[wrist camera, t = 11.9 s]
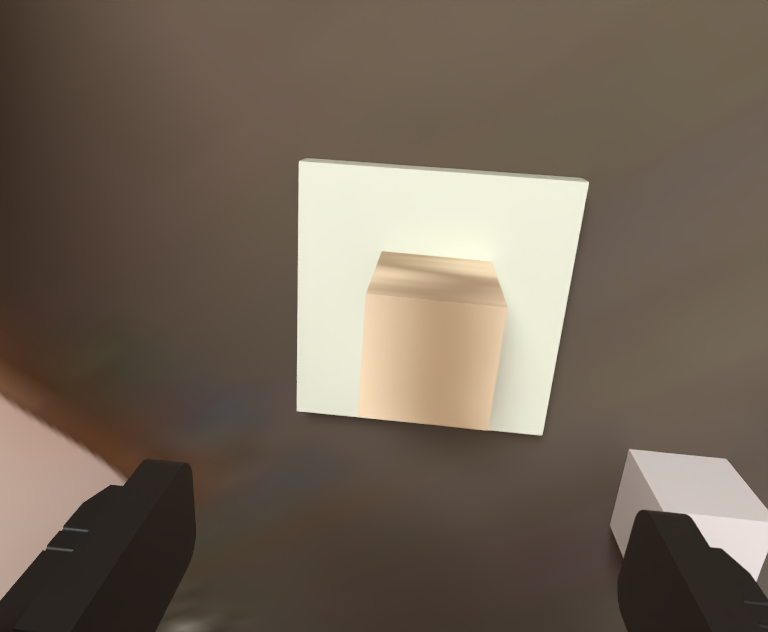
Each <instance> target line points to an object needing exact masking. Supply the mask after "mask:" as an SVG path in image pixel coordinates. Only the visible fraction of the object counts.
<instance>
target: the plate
mask: <svg viewBox="0 0 768 632" xmlns="http://www.w3.org/2000/svg"><path fill="white" fill-rule="evenodd" d="M588 185H589V182H588V181H586V180H584V179H582V178H575V177H561V176H547V175H533V174H519V173H505V172H491V171H478V170H464V169H450V168H436V167H422V166H408V165H394V164H380V163H367V162H353V161H339V160H325V159H311V158H305V159H303V160H301V161H299V213H298V331H297V411H301V412H311V413H321V414H331V415H341V416H351V417H359V416H358V405H359V390H360V375H361V360H362V345H363V329H364V314H365V299H366V292H367V289H368V287H369V284H370V281H371V279H372V276H373V273H374V271H375V268H376V265H377V263H378V260H379V257H380V255H381V252H382V251H386V252H396V253H407V254H418V255H428V256H439V257H450V258H460V259H471V260H482V261H492V264H493V266H494V269H495V272H496V275H497V278H498V281H499V284H500V287H501V289H502V292H503V295H504V298H505V301H506V304H507V307H508V309H507V315H506V321H505V327H504V334H503V340H502V346H501V353H500V359H499V365H498V371H497V378H496V384H495V390H494V396H493V403H492V409H491V415H490V421H489V428H488V430H492V431H502V432H512V433H522V434H532V435H542V434H543V429H544V424H545V418H546V413H547V407H548V402H549V397H550V391H551V386H552V380H553V375H554V369H555V364H556V359H557V353H558V348H559V342H560V337H561V331H562V326H563V321H564V315H565V310H566V304H567V299H568V293H569V288H570V283H571V277H572V272H573V266H574V261H575V255H576V250H577V245H578V239H579V234H580V228H581V223H582V218H583V212H584V207H585V201H586V196H587V190H588ZM361 418H368V417H361ZM371 419H377V418H371ZM381 420H386V419H381ZM391 421H395V420H391ZM401 422H404V421H401ZM411 423H414V422H411ZM422 424H423V423H422Z"/></svg>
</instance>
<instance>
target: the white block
mask: <svg viewBox="0 0 768 632" xmlns="http://www.w3.org/2000/svg"><path fill="white" fill-rule="evenodd" d="M640 510H653V511H663V512H673V513H683V514H687V515H689V516H690V517H691V518H692V519H693V521H694V522H695V524H696V525H697V527H698V528H699V530H700V532H701V533H702V535H703V536H704V538H705V540H706V541H707V543H708V544H709V546H710V547H714V548H722V549H723V550H724V551H725V552H726V553H727V554H729V555H730V556H731V557H732V558H733V559H734V560H735V561H737V562H738V563H739V564H740V565H741V566H742V567H743V568H745V569H746V570H747V571H748V572H749V573H750V574H751V575H752V577H753V578H754V580H755V581H757V578H758V575H759V573H760V570H761V568H762V565H763V562H764V560H765V557H766V554H767V552H768V510H767V509H766V507H765V506H764V505H763V504H762V502H761V501H760V500H759V499H758V497H757V496H756V495H755V494H754V493H753V491H752V490H751V489H750V488H749V486H748V485H747V484H746V483H745V481H744V480H743V479H742V478H741V477H740V475H739V474H738V473H737V472H736V470H735V469H734V468H733V467H732V465H731V464H730V463H729V462H728V461H727V459H720V458H711V457H701V456H691V455H681V454H671V453H661V452H652V451H642V450H632V449H629V452H628V456H627V460H626V463H625V467H624V471H623V475H622V479H621V483H620V487H619V491H618V495H617V499H616V503H615V507H614V511H613V515H612V519H611V523H610V527H611V529H612V531H613V534H614V536H615V539H616V541H617V544H618V546H619V549H620V551H621V553H622V556H623V558H624V555H625V551H626V548H627V544H628V541H629V537H630V533H631V530H632V526H633V523H634V519H635V517H636V515H637V513H638V512H639V511H640Z"/></svg>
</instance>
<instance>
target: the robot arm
mask: <svg viewBox="0 0 768 632" xmlns="http://www.w3.org/2000/svg"><path fill="white" fill-rule="evenodd" d="M195 538H196V523H195V508H194V494H193V479H192V470H191V467H190V465H189V464H188V463H182V462H172V461H162V460H152V459H146V460H144V461H143V462H142V463H141V464H140V465H139V466H138V468H137V469H136V470H135V472H134V473H133V474H132V475H131V477H130V478H129V479H128V481H127V482H126V483H125V484H124V486H116V485H110V486H108V487H107V488H105V489H104V490H102V491H101V492H99V493H97V494H96V495H94V496H93V497H91V498H90V499H88V500H87V501H85V502H84V503H83V504H82V505H81V506H80V507H79V508H78V510H77V511H76V512H75V513H74V514H73V515H72V516H71V518H70V519H69V520H68V521H67V522H66V524H65V525H64V526H63V530H62V531H59V532H58V533H57V535H55V537H54V538H53V539H52V540H51V541H50V543H49V544H48V545H47V549H46V550H45V551H44V550H43V551H42V552H41V553H40V554H39V556H38V557H37V558H36V559H35V560H34V561H33V563H32V564H31V565H30V566H29V567H28V569H27V570H26V571H25V572H24V573H23V574H22V576H21V577H20V578H19V579H18V580H17V582H16V583H15V584H14V585H13V586H12V587H11V589H10V590H9V591H8V592H7V593H6V595H5V596H4V597H3V598H2V599H1V600H0V632H155V631H156V629H157V627H158V625H159V623H160V621H161V619H162V617H163V615H164V613H165V611H166V609H167V607H168V605H169V603H170V601H171V599H172V597H173V595H174V593H175V591H176V589H177V587H178V585H179V583H180V581H181V579H182V578H183V576H184V574H185V572H186V570H187V568H188V565H189V563H190V560H191V557H192V554H193V550H194V545H195ZM618 602H619V608H620V612H621V615H622V618H623V621H624V623H625V626H626V629H627V631H628V632H768V599H767V597H766V596H765V595H764V593H763V592H762V590H761V589H760V587H759V586H758V584H757V583H756V581H755V580H754V578H753V577H752V575H751V574H750V573H749V572H748V571H747V570H746V569H745V568H743V567H742V566H741V565H740V564H739V563H738V562H737V561H735V560H734V559H733V558H732V557H731V556H730V555H729V554H727V553H726V552H725V551H724V550H723V549H722V548H714V547H710V546H709V544H708V543H707V541H706V540H705V538H704V536H703V535H702V533H701V532H700V530H699V528H698V527H697V525H696V524H695V522H694V521H693V519H692V518H691V517H690V516H689V515H687V514H683V513H673V512H663V511H653V510H640V511H639V512H638V513H637V515H636V517H635V519H634V523H633V526H632V530H631V533H630V537H629V541H628V544H627V548H626V551H625V555H624V558H623V562H622V566H621V569H620V573H619V577H618Z"/></svg>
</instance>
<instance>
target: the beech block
mask: <svg viewBox="0 0 768 632" xmlns="http://www.w3.org/2000/svg"><path fill="white" fill-rule="evenodd" d="M507 309H508V307H507V304H506V301H505V298H504V295H503V292H502V289H501V287H500V284H499V281H498V278H497V275H496V272H495V269H494V266H493V264H492V261H482V260H471V259H460V258H450V257H439V256H428V255H418V254H407V253H396V252H386V251H382V252H381V255H380V257H379V260H378V263H377V265H376V268H375V271H374V273H373V276H372V279H371V281H370V284H369V287H368V289H367V292H366V299H365V314H364V329H363V345H362V360H361V375H360V390H359V405H358V416H359V417H368V418H377V419H386V420H395V421H404V422H414V423H423V424H432V425H441V426H450V427H459V428H468V429H477V430H486V431H488V428H489V421H490V415H491V409H492V403H493V396H494V390H495V384H496V378H497V371H498V365H499V359H500V353H501V346H502V340H503V334H504V327H505V321H506V315H507Z"/></svg>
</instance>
